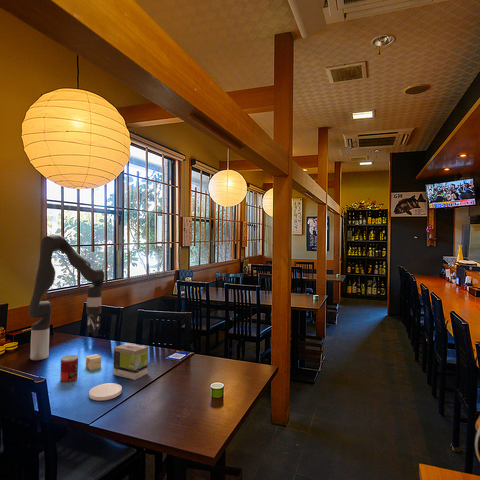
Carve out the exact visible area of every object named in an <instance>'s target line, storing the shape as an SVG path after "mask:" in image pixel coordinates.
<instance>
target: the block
mask: <svg viewBox="0 0 480 480" xmlns="http://www.w3.org/2000/svg"><path fill="white" fill-rule="evenodd" d="M85 368H86V369H87V370H88V371H93V370H96V369H97V370H98V369H101V368H102V356H100V355H99V354H97V353H95V354H92V355H88V356H85Z"/></svg>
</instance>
